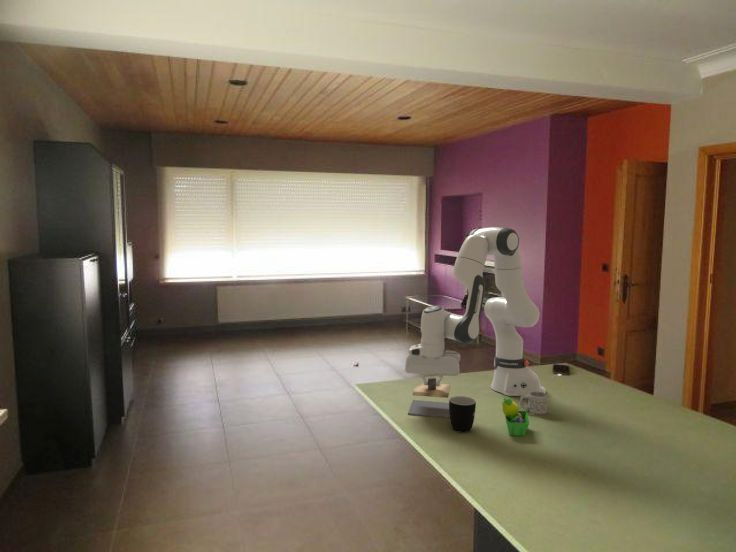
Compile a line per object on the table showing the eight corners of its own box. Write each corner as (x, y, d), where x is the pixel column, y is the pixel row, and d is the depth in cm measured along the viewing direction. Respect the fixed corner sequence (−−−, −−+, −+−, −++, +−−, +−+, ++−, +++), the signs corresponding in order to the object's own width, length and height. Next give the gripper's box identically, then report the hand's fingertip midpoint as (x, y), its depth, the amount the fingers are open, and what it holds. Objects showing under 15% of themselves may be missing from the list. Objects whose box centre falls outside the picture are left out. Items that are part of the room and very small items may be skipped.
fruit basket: (529, 438, 173) (530, 405, 172) (501, 435, 175) (503, 402, 174) (526, 425, 184) (527, 394, 183) (500, 422, 186) (501, 392, 185)
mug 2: (544, 408, 201) (545, 391, 200) (548, 414, 195) (549, 397, 194) (517, 407, 202) (518, 390, 201) (520, 413, 196) (521, 396, 195)
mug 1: (476, 434, 175) (477, 405, 174) (449, 433, 176) (450, 404, 174) (470, 421, 187) (471, 393, 186) (445, 420, 187) (446, 392, 186)
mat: (451, 404, 204) (451, 403, 204) (449, 418, 190) (449, 416, 190) (413, 401, 207) (413, 399, 207) (407, 414, 193) (407, 413, 193)
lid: (450, 386, 203) (450, 374, 202) (448, 397, 190) (448, 385, 190) (416, 384, 206) (416, 372, 205) (412, 395, 193) (412, 382, 192)
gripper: (460, 348, 197) (460, 384, 199) (406, 346, 201) (406, 381, 203) (460, 353, 191) (459, 389, 193) (404, 350, 195) (404, 386, 197)
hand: (431, 385), depth 198 cm, fingers closed on lid, 3 cm apart
